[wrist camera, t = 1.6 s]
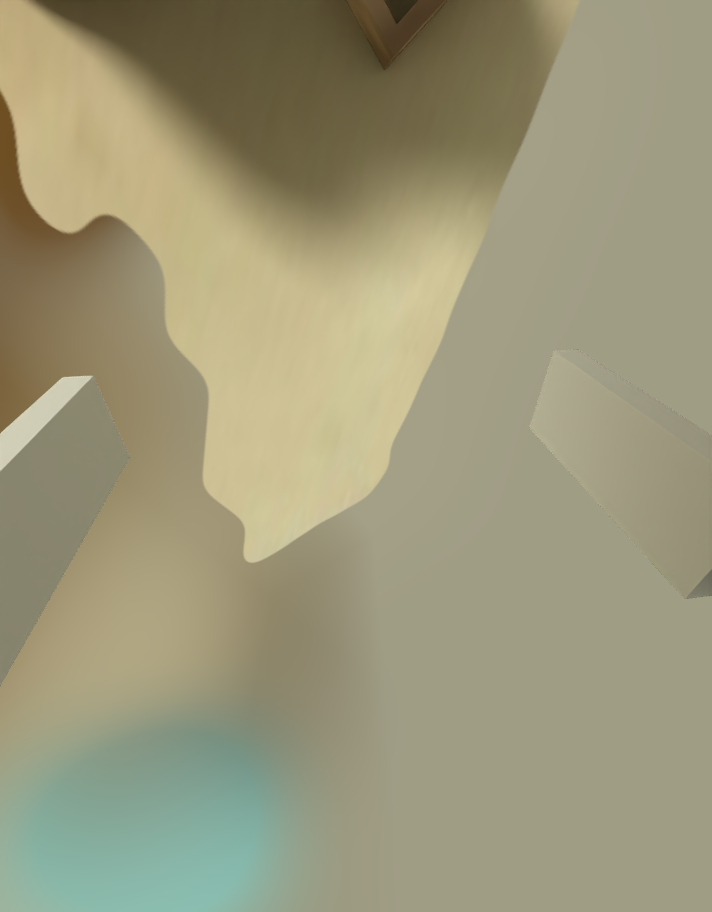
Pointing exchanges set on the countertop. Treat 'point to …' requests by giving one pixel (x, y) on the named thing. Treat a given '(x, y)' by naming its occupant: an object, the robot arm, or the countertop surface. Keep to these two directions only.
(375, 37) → the bay
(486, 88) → the countertop surface
